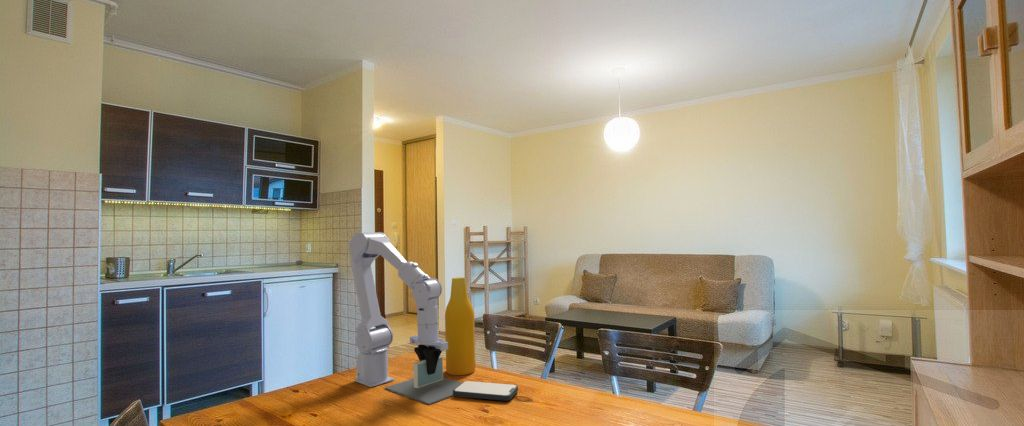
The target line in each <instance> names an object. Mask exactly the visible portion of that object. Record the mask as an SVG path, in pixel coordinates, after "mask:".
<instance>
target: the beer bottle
mask: <svg viewBox="0 0 1024 426" xmlns="http://www.w3.org/2000/svg"><path fill="white" fill-rule="evenodd" d="M444 331H445V335H444V336H445V338H444V339H445V340H444V341H445V342H448V349H447V350H445V370H446V373H447V374H448V375H451V376H466V375H470V374H472V373H474V372H475V371H476V368H477V367H476V365H477V364H476V363H477V362H476V344H475V343H476V338H475V336H476V335H475V334H476V333H475V332H476V331H475V311H474V307H473V305H472V303H471V300H470V299H469V295H468V287H467V279H466V277H462V276H461V277H458V276H457V277H452V278H451V287H450V298H449V301H448V303H447V305H446V308H445V313H444Z"/></svg>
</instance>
